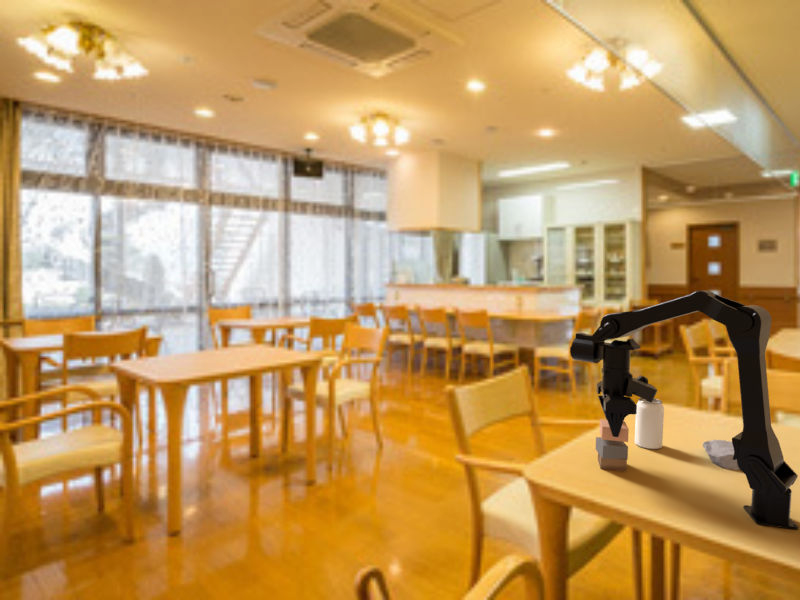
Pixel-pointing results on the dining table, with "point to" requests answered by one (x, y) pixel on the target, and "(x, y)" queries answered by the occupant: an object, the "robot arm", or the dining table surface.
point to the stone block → (721, 453)
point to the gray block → (611, 449)
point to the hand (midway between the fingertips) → (613, 432)
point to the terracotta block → (607, 433)
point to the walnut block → (612, 464)
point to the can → (649, 424)
